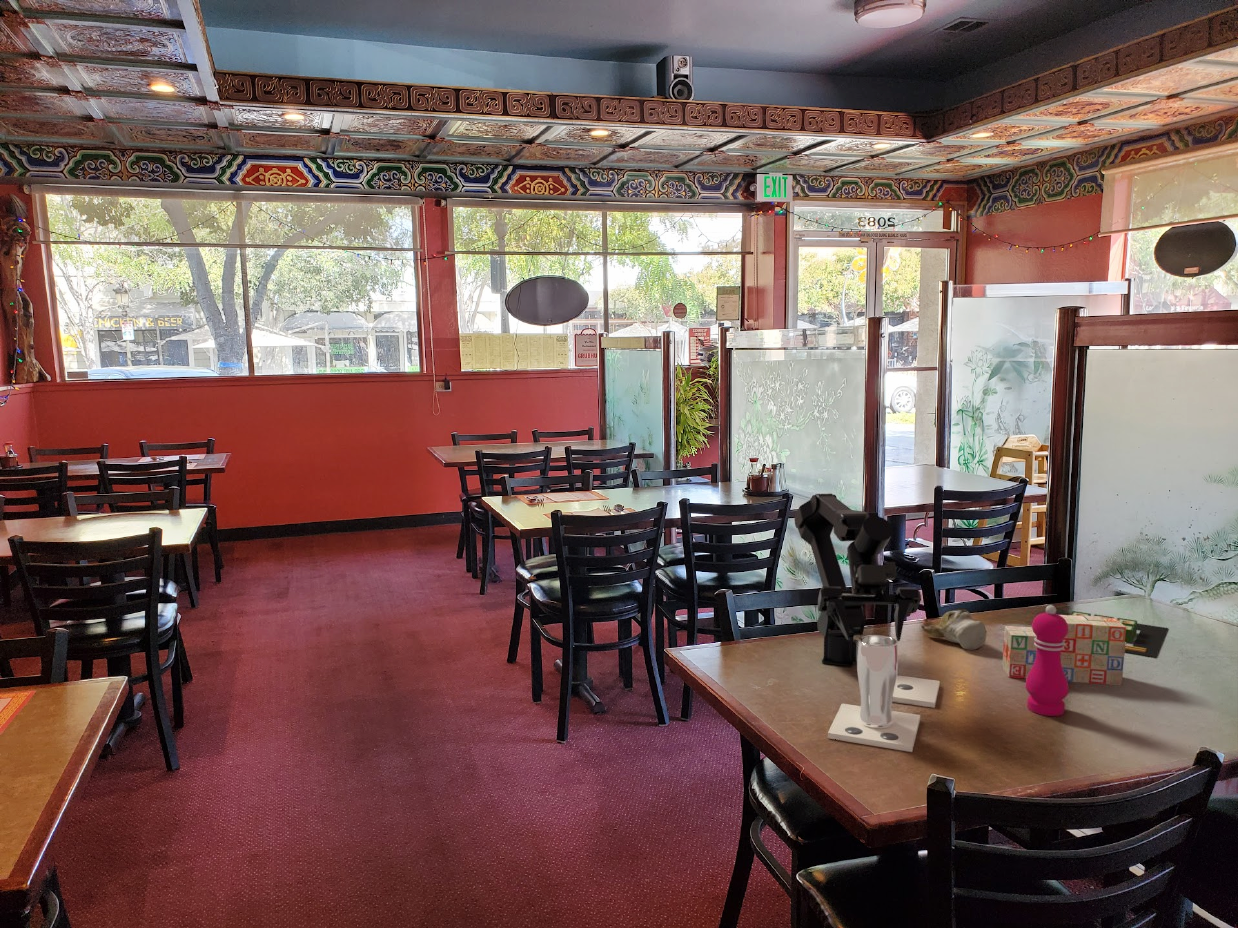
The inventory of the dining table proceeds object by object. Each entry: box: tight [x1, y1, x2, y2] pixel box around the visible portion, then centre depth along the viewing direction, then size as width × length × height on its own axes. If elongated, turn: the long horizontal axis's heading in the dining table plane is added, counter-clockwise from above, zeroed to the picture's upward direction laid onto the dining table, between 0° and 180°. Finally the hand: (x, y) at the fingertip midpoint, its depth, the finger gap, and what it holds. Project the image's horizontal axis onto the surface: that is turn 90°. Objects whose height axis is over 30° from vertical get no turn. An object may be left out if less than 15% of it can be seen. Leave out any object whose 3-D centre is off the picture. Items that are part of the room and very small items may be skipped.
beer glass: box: [856, 634, 899, 729], centre depth 158 cm, size 7×7×15 cm
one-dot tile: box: [892, 674, 941, 709], centre depth 175 cm, size 12×12×1 cm
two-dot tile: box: [827, 703, 921, 753], centre depth 158 cm, size 14×14×1 cm
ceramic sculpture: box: [920, 607, 988, 651], centre depth 204 cm, size 11×9×15 cm
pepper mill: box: [1024, 604, 1069, 717], centre depth 164 cm, size 7×7×20 cm
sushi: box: [1055, 610, 1169, 659], centre depth 210 cm, size 25×25×4 cm
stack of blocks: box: [1002, 615, 1126, 686], centre depth 182 cm, size 21×6×12 cm, turn 78°
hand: (873, 639), depth 167 cm, fingers open, 9 cm apart
